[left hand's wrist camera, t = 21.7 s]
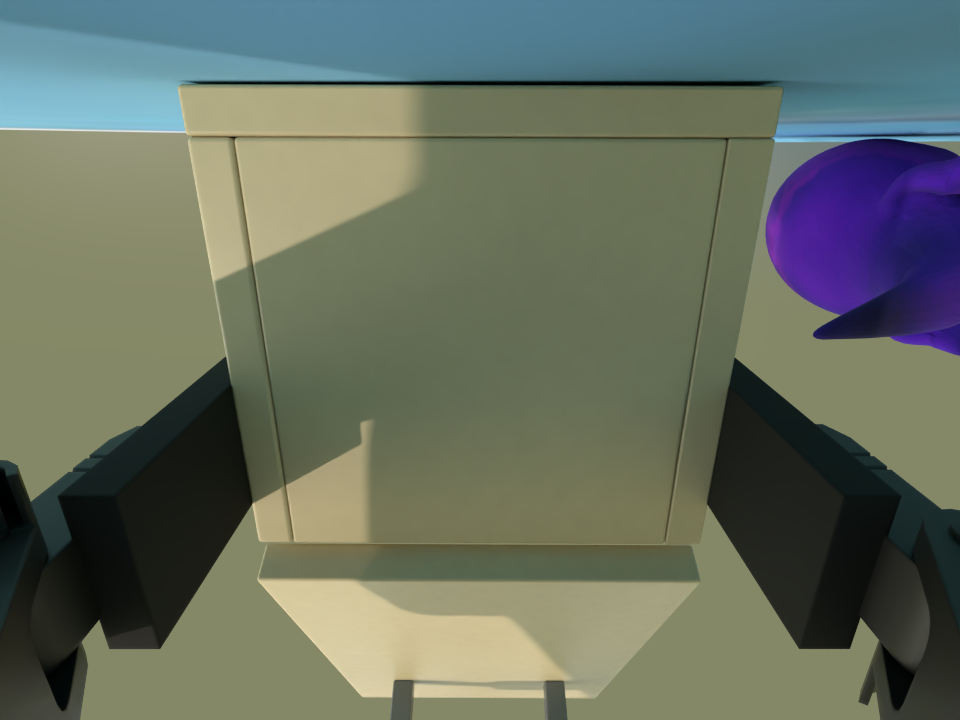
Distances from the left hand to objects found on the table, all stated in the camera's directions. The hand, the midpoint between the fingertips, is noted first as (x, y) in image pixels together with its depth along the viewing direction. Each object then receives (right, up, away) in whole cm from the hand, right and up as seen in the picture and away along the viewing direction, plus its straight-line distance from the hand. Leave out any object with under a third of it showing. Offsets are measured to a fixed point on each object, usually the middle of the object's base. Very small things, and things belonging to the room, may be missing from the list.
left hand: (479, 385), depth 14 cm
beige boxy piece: (0, -8, +4) cm, 9 cm away
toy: (+33, +18, +28) cm, 47 cm away
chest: (0, +7, +1) cm, 7 cm away
